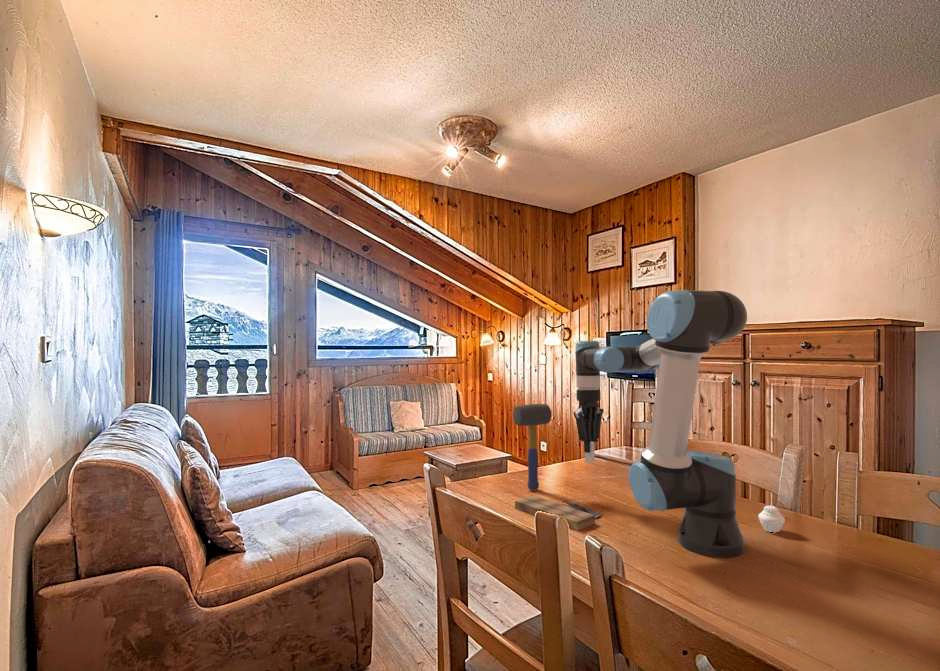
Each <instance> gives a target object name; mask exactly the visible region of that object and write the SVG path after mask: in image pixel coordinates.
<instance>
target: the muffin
mask: <svg viewBox="0 0 940 671" xmlns="http://www.w3.org/2000/svg"><path fill="white" fill-rule="evenodd" d="M758 519H759V522H760V524H761V527H762V528H763V529H764V531H765V530H766V531H769V532H779V533H780V531H781V529H783V526H784V523H785V522H786V519H785V517H784V516H783V515H782V514H781V512H780V509H779V508H778V507H776V506H774V505H765V506H763V510H762V511H761V512H760V513H758ZM766 531H765V532H766ZM769 532H768V533H769Z"/></svg>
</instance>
